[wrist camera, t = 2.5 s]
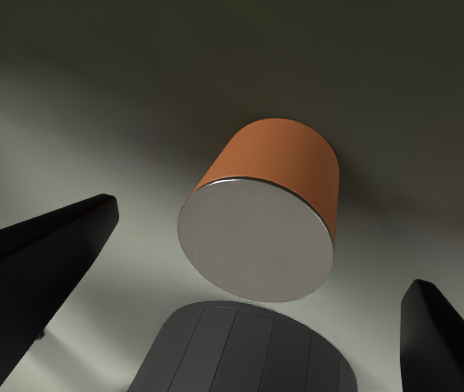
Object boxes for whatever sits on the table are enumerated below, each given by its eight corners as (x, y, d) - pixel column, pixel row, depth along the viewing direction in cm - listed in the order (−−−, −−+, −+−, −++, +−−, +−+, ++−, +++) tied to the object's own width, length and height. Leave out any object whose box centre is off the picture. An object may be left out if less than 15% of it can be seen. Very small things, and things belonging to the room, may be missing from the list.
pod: (260, 232, 15) (231, 312, 11) (201, 150, 13) (148, 212, 10) (360, 199, 12) (362, 287, 9) (302, 93, 11) (278, 150, 7)
